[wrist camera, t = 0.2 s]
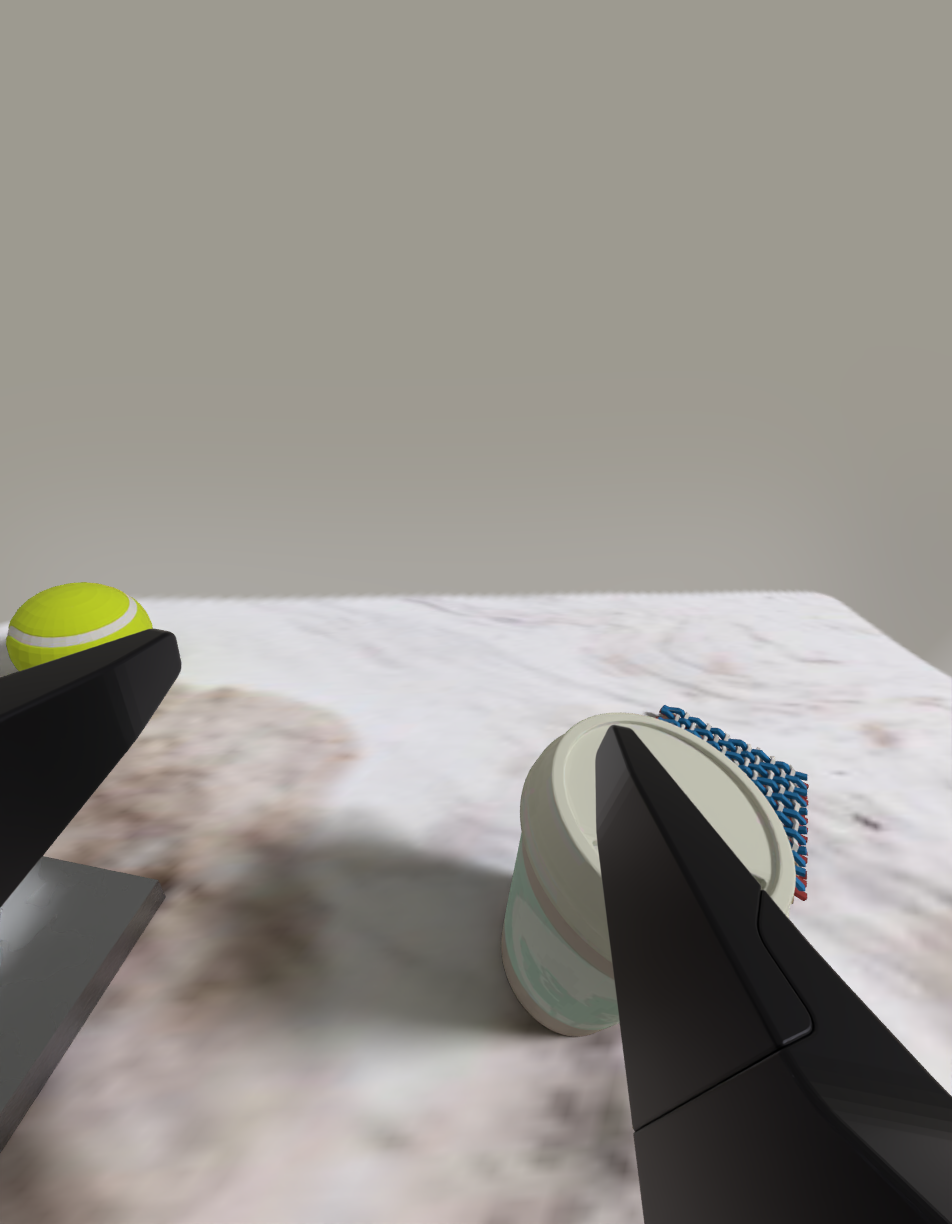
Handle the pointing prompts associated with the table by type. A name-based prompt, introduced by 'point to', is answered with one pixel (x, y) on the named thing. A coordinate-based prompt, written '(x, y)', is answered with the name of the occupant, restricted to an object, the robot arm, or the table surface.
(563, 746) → the coffee cup
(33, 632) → the tennis ball
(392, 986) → the table surface
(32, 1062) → the panel
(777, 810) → the woven mat
